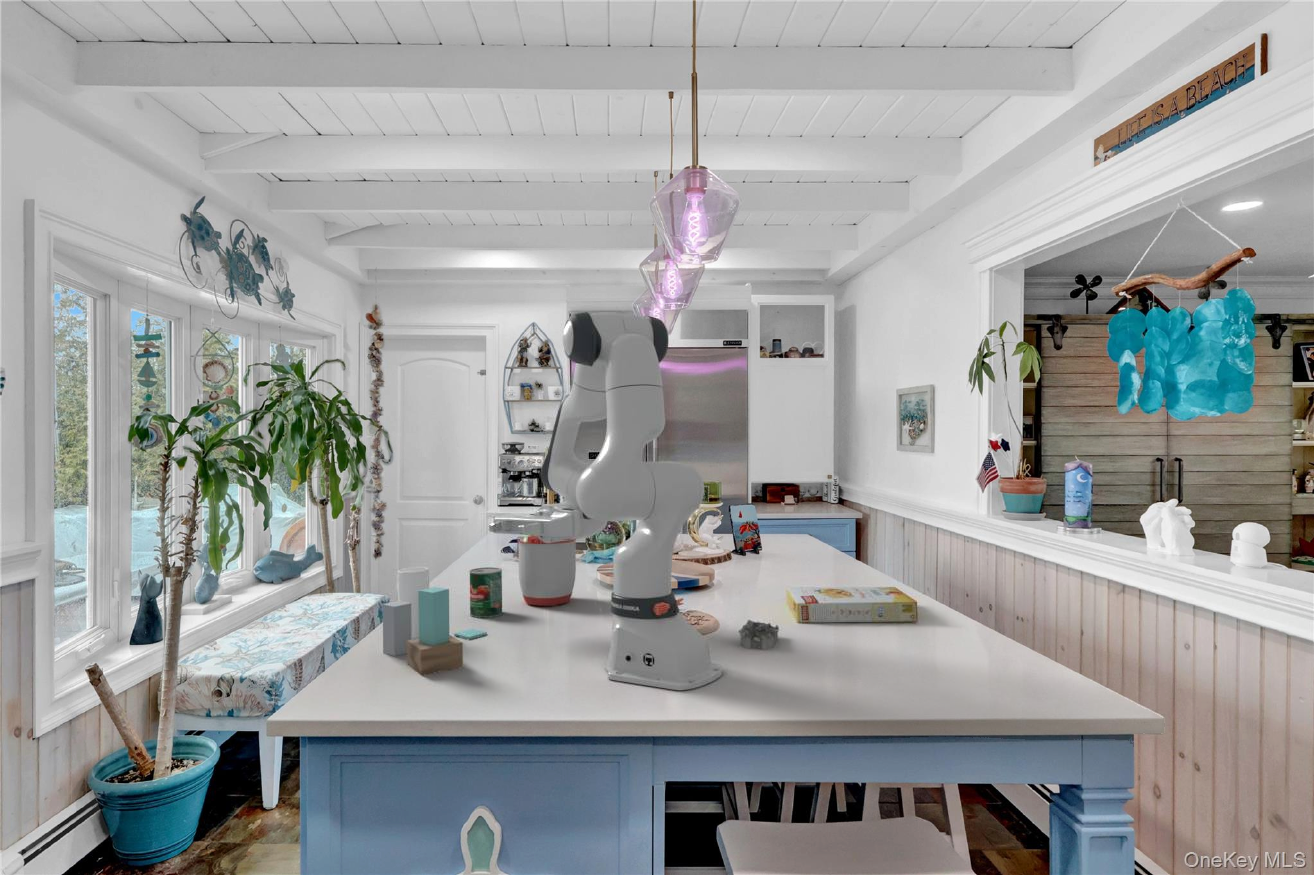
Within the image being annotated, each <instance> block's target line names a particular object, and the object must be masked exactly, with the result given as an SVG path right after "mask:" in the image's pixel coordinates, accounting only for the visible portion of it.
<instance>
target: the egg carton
mask: <svg viewBox="0 0 1314 875" xmlns="http://www.w3.org/2000/svg"><path fill="white" fill-rule="evenodd" d="M779 631H780V627H779V625H778V624H776V625H775V626H772V624H771V623H770V622H769V623H765V622H760V621H757V622H756V621H753V620H750V619H748V620H747V621H746V623H745V624H744V625H742V627H741V629H738V633H739V637H740V646H741V647H744V648H745V647H746V648H745V649H752V647H753V648H758V647H760V648H759V649H761V650H769V649H770V650H771V649H773V648H774V645H776V641H777V640H778V639H779V637H778V636H779ZM755 635H756V636H755Z"/></svg>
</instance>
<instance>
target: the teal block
mask: <svg viewBox="0 0 1314 875" xmlns="http://www.w3.org/2000/svg"><path fill="white" fill-rule="evenodd" d="M418 604H419V643H422V644H427V645H432V646H434V645H437V644H440V643H443V642H447V641H449V635H450V589H449V588H444V587H438V586H433V587H429V588H428V589H423V590H419V591H418Z"/></svg>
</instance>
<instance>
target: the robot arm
mask: <svg viewBox="0 0 1314 875" xmlns="http://www.w3.org/2000/svg"><path fill="white" fill-rule="evenodd" d="M562 345H563V349H564V354H565V355H566V358H568V359H569V360H570V361H571V362H573V363H575V366H574V372H573V378H572V379H573V381H572V386H571V390H570V392H569V394H567V395H565V396H564V397H563V398H562V400H561V403H560V404H559V407H558V409H557V414H556V417H555V422H554V424H553V425H554V426H553V428H552V434H551V437H550V442H549V447H548V450H547V454H546V456H545V459H544V460H543V463H542V465H541V470H540V480H541V483H542V485H543V487H544V488H545V489H546V490H549V491H551V492H552V493H555V494H557V495H559V496H561V497H563V498H564V501H563V502H560V503H547V504H542V505H541V506H539V507H538V508H537V509H536V511H535V513H534V515H524V514H523V515H522V514H520V515H507V516H506V515H505V516H502V515H501V516H496V517H494V518H493V523H489V524H488V531H489V532H490V533H495V534H504V535H506V534H507V535H520V536H521V535H522V536H537V537H538V538H539V539H540V540H541V541H542V542H545V543H554V542H560V541H566V540H572V539H576V540H578V539H584V538H585V539H586V538H589V537H592V536H595V535H597V534H599V533H600V532H602V531H603V530H604V529H605V528H606V526H607V524H608V522H613V523H614V522H625V521H626V522H627V521H638V523H637V526H636V529H635V531H634V532H633V534H632V535H631V536H630V537H629V538H627V540H624V541H623V542H622V543H620V544H619V545H618V546H617V547H616V549H615V551H614V554H613V558H612V559H613V560H612V563H613V564H612V565H613V566H612V569H613V570H612V571H613V572H612V576H613V578H612V579H613V580H612V582H613V585H612V586H613V588H612V589H613V591H612V592H611V597H610V599H611V600H610V611H611V613H612V627H611V628H612V630H611V635H610V636H611V637H610V645H609V650H608V655H607V658H606V659H607V660H606V662H605V666H604V668H605V670H606V672H607V679H609V680H612V681H618V682H624V683H629V684H635V685H636V684H637V685H642V686H643V685H644V686H649V687H654V688H656V687H657V688H661V689H666V690H667V689H668V690H673V691H674V690H675V691H685V690H691V689H692V690H693V689H696V688H700V687H702V686H705V685H707V684H710V683H711V682H714V681H716V680H717V679H718V678H720V677H721V676H722V675H723V666H722V665H720V664H718V663H716V662H715V663H714V662H712V661H711V656H710V648H709V645H708V641H707V639H706V638H705V636H703V635H702V634H701V633H700V632H699V631H698V630H697V629H696V628H695V627H694V626H692V624H691V623H690V622H689V621H687V619H686V618H684V616H682V615H681V613H680V608H679V606H681V605H684V602H682V601H684V598H679V599H676V596H675V593H674V592H673V591H672V571H673V570H672V569H673V568H672V567H673V566H672V565H673V554H674V548H675V544H676V543H677V542H676V541H677V538H678V536H679V533H680V531H681V529H682V527H683V526H684V524H685V523H686V521H687V520H688V519H689V517H690V516H691V515H692V514H694V513H695V512H696V511H697V510H698V509H699V507H700V506H701V504H702V501H703V499H704V495H705V484H704V481H703V478H702V475H701V473H700V471H698V470H697V468H696V467H695V466H693V465H691V464H688V463H682V462H677V461H672V460H671V461H667V460H664V461H663V460H662V461H643V453H644V449H645V446H646V445H648V444H649V443H651V442H652V441H654V440H655V439H657V438H658V437H659V436H660V435H661V434H662V432H663V431H664V428H665V426H666V414H665V403H664V402H665V401H664V391H663V388H664V387H663V379H662V372H661V367H660V363H661V362H662V361H663V360H664V358H665V357H666V355H667V353H668V348H669V332H668V329H667V327H666V324H665V323H664V321H663V320H662V319H660V318H657V317H654V316H650V315H636V314H630V313H629V314H628V313H620V312H614V311H613V312H610V311H609V312H591V313H589V312H587V311H584V312H583V311H582V312H577V313H574V314H571V315H570V316H569V318H568V319H567V320H566V321H565V324H564V329H563V331H562ZM605 419H606V432H605V439H604V441H603V445H602V447H601V449H600V452H599V454H598V455H597V457H596V458H595V459H594V460H593V461H592V463H591V464H588V463H586V462H585V461H583V460H580V459H579V458H578V457H577V455H576V454H575V451H574V448H575V444H576V440H577V436H578V432H579V429H580V425H581V424H582V423H589V422H590V423H592V422H597V421H602V420H605Z"/></svg>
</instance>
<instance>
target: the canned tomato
mask: <svg viewBox="0 0 1314 875" xmlns="http://www.w3.org/2000/svg"><path fill="white" fill-rule="evenodd" d="M502 573H503V569H502V568H500V567H491V566H490V567H478V568H477V567H476V568H471V569H470V570H469V611H470V612H469V613H470V614H469V616H470V615H471V616H470V617H472V616H475V617H484V618H483V619H486V618H485V617H491V618H493V617H492V616H496V617H499V615H500V616H501V615H503V582H502V581H503V580H502V579H503V574H502ZM475 617H474V618H475Z"/></svg>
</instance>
